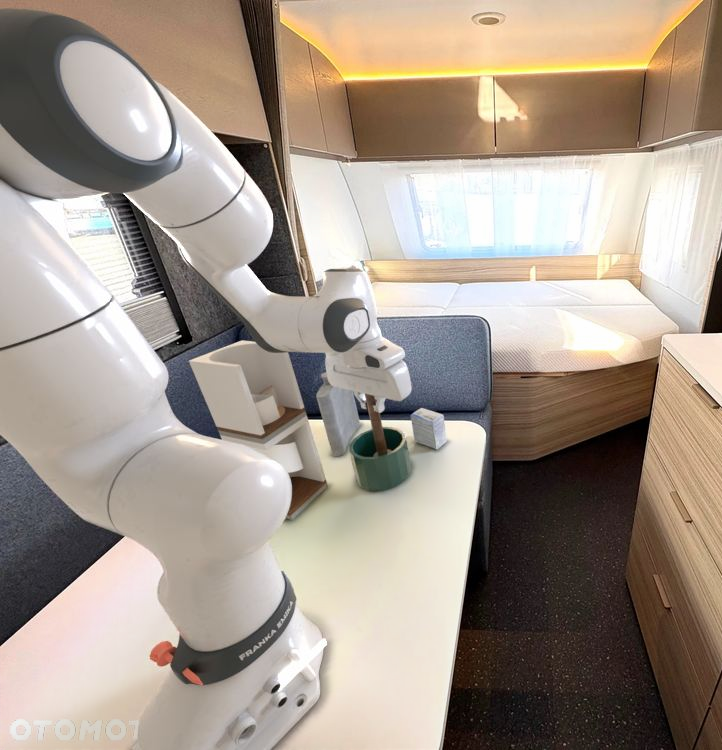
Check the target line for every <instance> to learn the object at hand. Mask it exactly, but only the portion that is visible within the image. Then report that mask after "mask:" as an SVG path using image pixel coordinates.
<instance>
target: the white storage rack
mask: <svg viewBox="0 0 722 750" xmlns="http://www.w3.org/2000/svg"><path fill="white" fill-rule="evenodd" d="M188 362H189V365H190V367H191V370H192V373H193V374H194V377H195V380H196V382H197V384H198V386H199V390H200V391H201V393H202V396H203V398H204V400H205V403H206V406H207V408H208V410H209V412H210V415H211V417H212V419H213V422H214V424H215V427H216V429H217V432H218V433H219V436H220V438H221V439H220V440H225V441H229V442H233V443H238V444H242V445H246V446H248V447H250V448H252V449H254V450H256V451H258V452H260V453H262V454H264V455H266V456H267V457H269V458H271V459H272V460H274V461H276V462H277V463H279V464H281V465H282V466H283V467H284V468H285V469H286V471H287V472H288V474H289V477H290V479H291V484H292V498H291V504H290V508H289V511H288V513H287V516H286V518H285V520H289V521H293V520H294V519H295V518H297V516H298V515H299V514H301V513H302V511H304V509H306V508H307V507H308V506H309V505H310V504H311V503H312V502H313V501H314V500H315V499H316V498H318V496H320V494H322V493H323V492H324V491H325V490H326V489H327V488H328V482H327V479H326V475H325V471H324V469H323V465H322V462H321V458H320V455H319V452H318V448H317V445H316V441H315V439H314V434H313V431H312V428H311V425H310V421H309V417H308V415H307V411H306V407H305V405H304V401H303V398H302V395H301V391H300V388H299V384H298V381H297V379H296V378H297V377H296V374H295V370H294V368H293V365H292V361H291V357H290V354H289V352H286V353H271V352H268V351H266V350H264V349H262V348H261V347H260V346H259V345H258V344H257V343H256V342H255V341H254V340H253V341H251V340H240V341H239V340H238V341H237V342H234V343H232V344H228V345H226V346H224V347H221V348H218V349H215V350H213V351H211V352H208V353H206V354H203V355H200V356H197V357H195V358H192V359H190V360H188Z"/></svg>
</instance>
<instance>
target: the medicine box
mask: <svg viewBox="0 0 722 750" xmlns="http://www.w3.org/2000/svg"><path fill="white" fill-rule="evenodd" d="M410 420H411V427H412V433H413V438H414V442H415V443H418V444H420V445H423V446H426V447H429V448H431V449H434V450H436V451H437V450H438V449H440V448H441V447H442V446H444V444H446V443H447V442H448V439H447V431H446V423H445V416H444V414H442V413H439V412H436V411H433V410H430V409H427V408H424V407H420V408H419V409H417V410H416V411H414V412H413V413H412V414H410Z"/></svg>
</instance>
